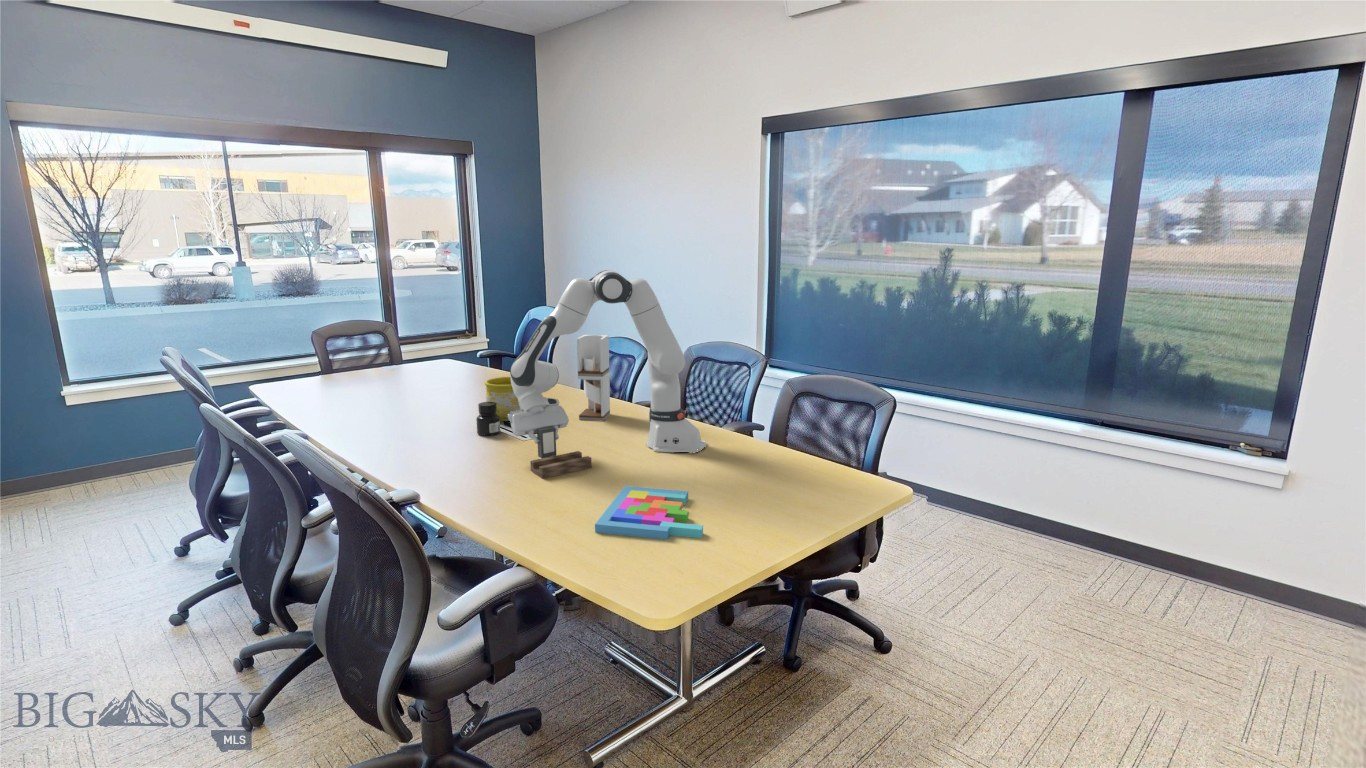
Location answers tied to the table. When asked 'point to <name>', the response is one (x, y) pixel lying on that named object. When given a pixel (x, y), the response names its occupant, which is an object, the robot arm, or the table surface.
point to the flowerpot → (502, 396)
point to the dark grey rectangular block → (546, 442)
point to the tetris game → (648, 514)
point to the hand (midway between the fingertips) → (547, 440)
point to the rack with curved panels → (594, 375)
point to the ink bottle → (488, 419)
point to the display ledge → (560, 464)
